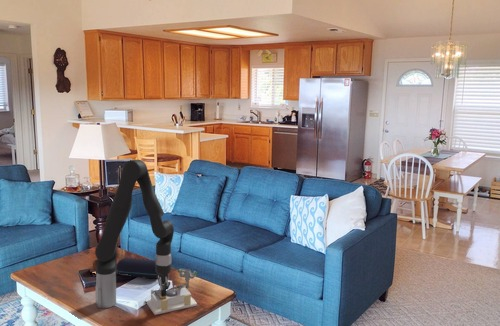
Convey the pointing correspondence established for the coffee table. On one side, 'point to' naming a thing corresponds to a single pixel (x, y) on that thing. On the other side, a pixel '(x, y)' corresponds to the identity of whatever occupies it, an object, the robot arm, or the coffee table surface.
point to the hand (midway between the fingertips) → (163, 295)
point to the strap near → (159, 294)
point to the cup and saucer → (94, 265)
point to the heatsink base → (170, 308)
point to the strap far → (183, 284)
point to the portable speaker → (137, 267)
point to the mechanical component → (187, 275)
